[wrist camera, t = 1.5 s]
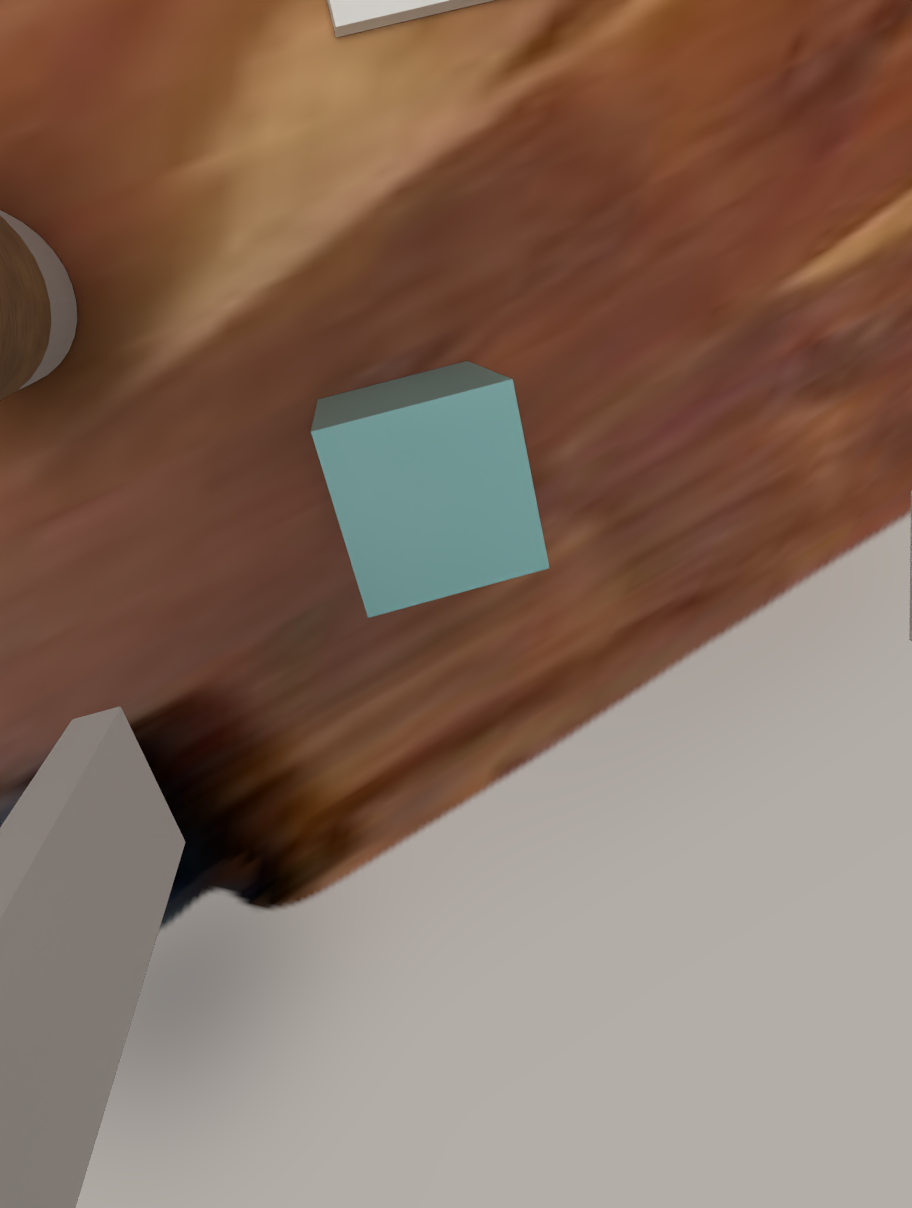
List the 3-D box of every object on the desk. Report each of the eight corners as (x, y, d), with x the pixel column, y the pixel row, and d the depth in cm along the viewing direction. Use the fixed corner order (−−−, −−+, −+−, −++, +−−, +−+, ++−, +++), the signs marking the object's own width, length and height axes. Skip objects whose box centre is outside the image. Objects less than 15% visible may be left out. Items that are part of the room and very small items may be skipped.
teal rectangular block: (360, 542, 31) (367, 617, 24) (317, 399, 29) (310, 431, 21) (498, 506, 31) (549, 568, 24) (467, 360, 29) (512, 379, 22)
